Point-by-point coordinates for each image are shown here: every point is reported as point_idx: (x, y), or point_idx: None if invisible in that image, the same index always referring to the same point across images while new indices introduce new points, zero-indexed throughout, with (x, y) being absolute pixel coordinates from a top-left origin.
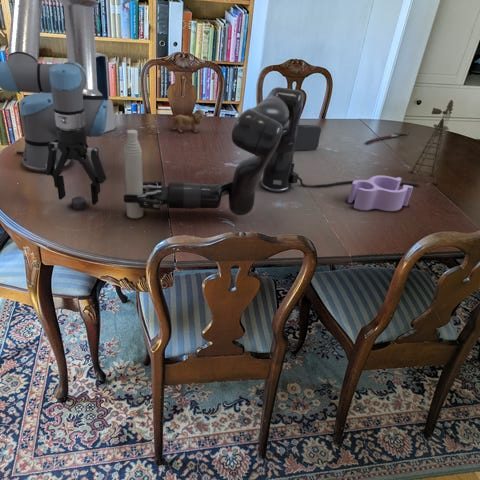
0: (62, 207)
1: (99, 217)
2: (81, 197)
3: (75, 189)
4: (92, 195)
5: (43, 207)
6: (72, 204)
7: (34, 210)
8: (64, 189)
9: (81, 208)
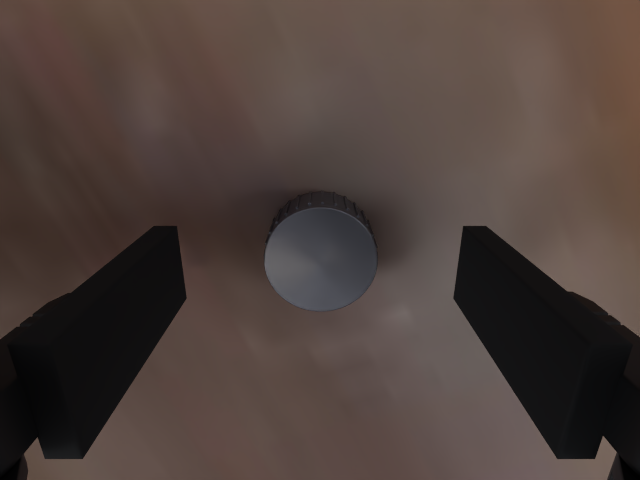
0: (432, 187)
1: (93, 130)
2: (315, 303)
3: (440, 427)
4: (121, 263)
5: (577, 141)
6: (356, 211)
7: (636, 69)
8: (476, 325)
9: (284, 207)
